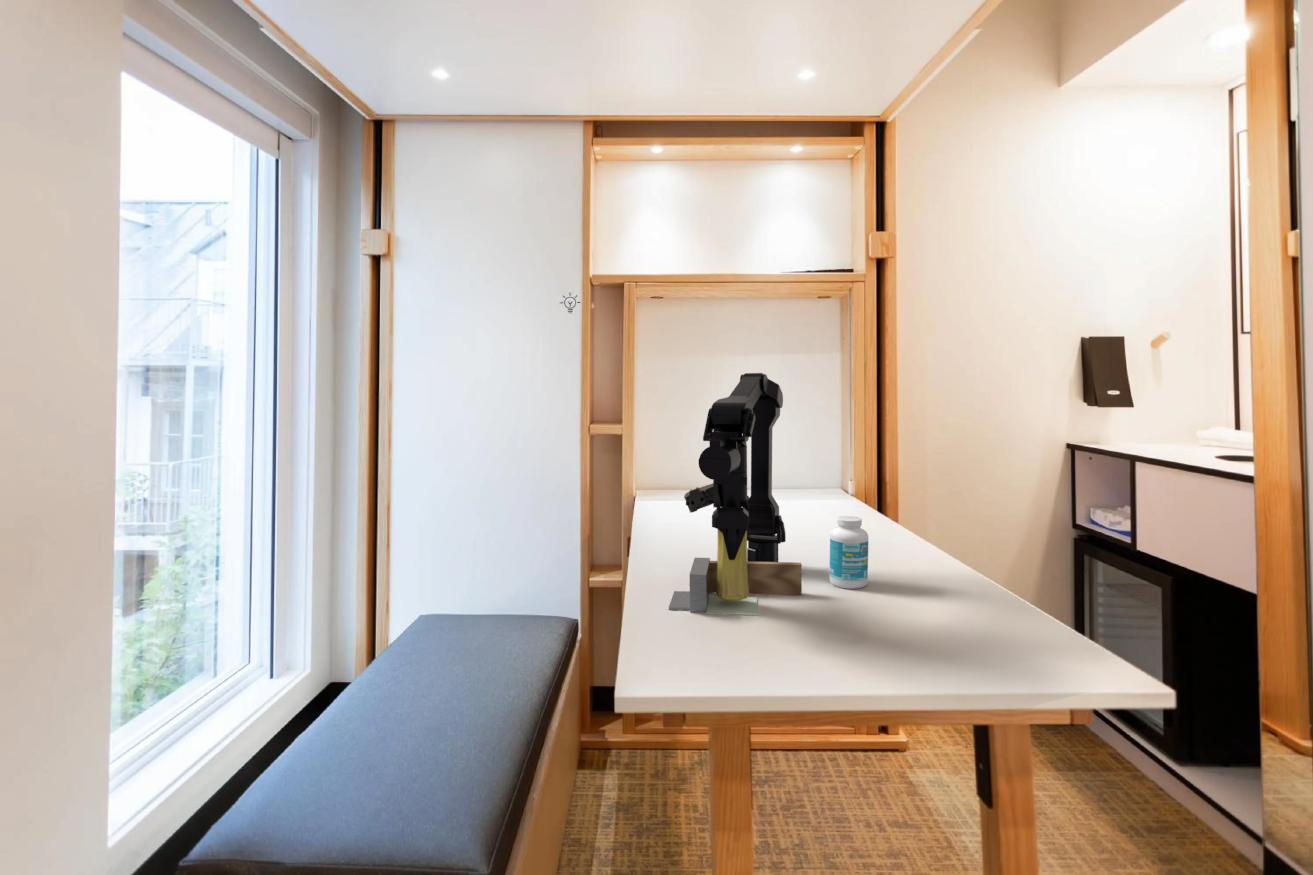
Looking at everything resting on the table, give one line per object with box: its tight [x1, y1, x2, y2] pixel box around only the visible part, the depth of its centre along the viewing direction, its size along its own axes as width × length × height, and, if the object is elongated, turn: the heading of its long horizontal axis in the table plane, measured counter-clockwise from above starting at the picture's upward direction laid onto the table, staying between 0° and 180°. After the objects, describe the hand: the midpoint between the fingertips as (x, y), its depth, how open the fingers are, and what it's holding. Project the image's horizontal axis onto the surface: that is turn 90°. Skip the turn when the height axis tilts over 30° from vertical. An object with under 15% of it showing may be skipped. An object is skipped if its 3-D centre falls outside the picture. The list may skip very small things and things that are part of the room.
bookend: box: [668, 557, 711, 614], centre depth 125 cm, size 7×11×7 cm, turn 172°
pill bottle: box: [828, 515, 869, 590], centre depth 133 cm, size 8×7×14 cm
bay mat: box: [705, 595, 758, 616], centre depth 123 cm, size 9×9×1 cm
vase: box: [715, 529, 750, 600], centre depth 122 cm, size 6×6×14 cm
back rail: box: [710, 560, 803, 596], centre depth 130 cm, size 20×2×6 cm, turn 82°
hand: (732, 555), depth 122 cm, fingers closed on vase, 5 cm apart
